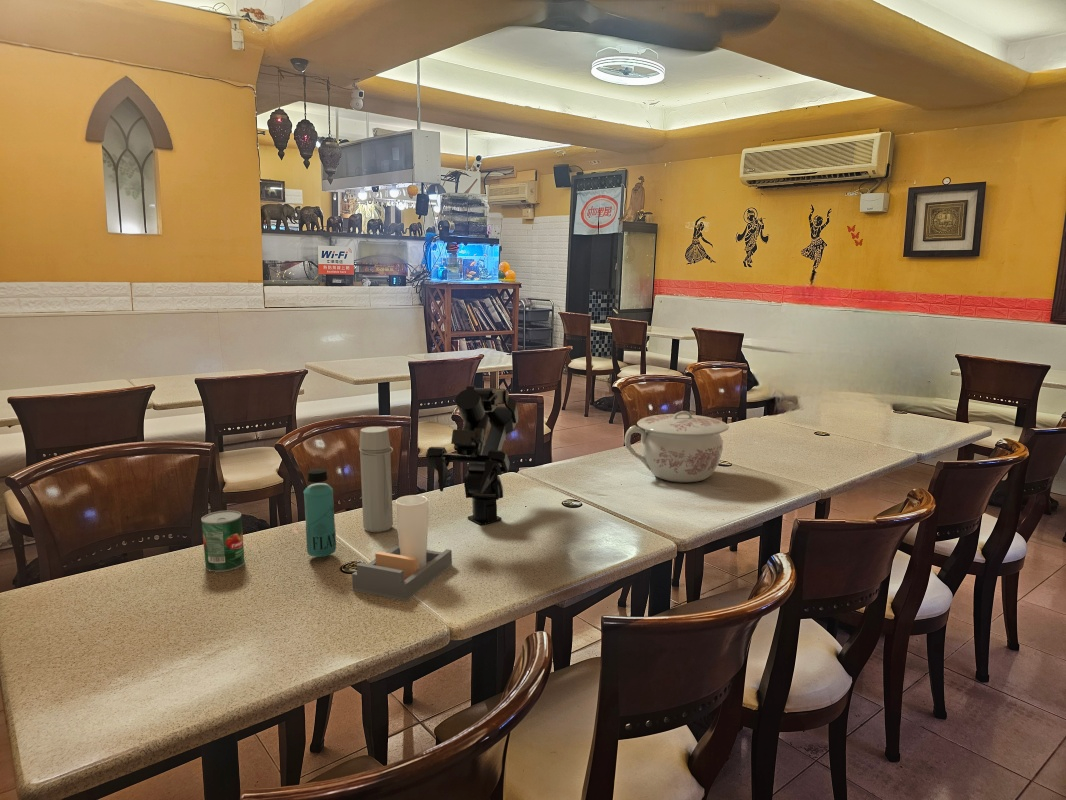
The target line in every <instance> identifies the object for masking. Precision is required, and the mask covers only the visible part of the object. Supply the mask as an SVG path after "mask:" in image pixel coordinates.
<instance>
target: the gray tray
mask: <svg viewBox="0 0 1066 800" xmlns="http://www.w3.org/2000/svg"><path fill="white" fill-rule="evenodd" d="M452 552H453V551H452V549H447V548H446V549H445V550H444V551H435V550H431V549H427V554H426V565H425V566H423V567H422V568H420V569H419V570H418V571H416V572H415V573H414V574H412V575H411V576H410V577H408V578H407V579H406V580H404V571H403V570H398V569H392V568H387V567H381V566H376V559H372V561H370V562H368V563H364V562H359V563H357V564H356V571H354V572H353V573H351V580H352V581H351V582H352V592H353V591H354V592H358V593H364V594H369V595H373V596H377V597H384V598H388V599H394V600H397V601H403V602H408V601H409V600H410V599H411V598H413V597H414V596H415V595H416V594H417V593H419V592H420V591H422V589H424V588H425V587H426V586H428V585H429V584H430V583H432V582H433V581H434V580H435V579H437V578H438V577H439V576H440V575H442V574H443V573H444V572H445V571H447V570H448V569H449V568H450V567H451V566H453V555H452ZM385 553H391V554H396V555H400V548H399V543H398V544H396V545H395V546H393V547H392V548H390V549H389V550H387V551H385Z"/></svg>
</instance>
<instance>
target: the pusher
mask: <svg viewBox="0 0 1066 800" xmlns="http://www.w3.org/2000/svg"><path fill="white" fill-rule="evenodd" d="M385 552H386V551H385ZM385 552H384V551H377V552H375V555H374V556H375V557H374V558H375V559H376V566H381V567H387V568H392V569H398V570H403V571H404V580H406V579H407V578H408V577H410V576H411V575H412V574H414V573H415V572H416V571H418V561H417V558H414V557H408V556H402V555H396V554H391V553H385Z"/></svg>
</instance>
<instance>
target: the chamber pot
mask: <svg viewBox="0 0 1066 800" xmlns="http://www.w3.org/2000/svg"><path fill="white" fill-rule="evenodd" d="M636 424H637V425H636ZM636 424H635V425H632V426H630V427H629V428H628V429H627V430H626V432H625V435H624V445H625V448H626V449H627V450H628V452H629V453H630V454H631V455H632V456H634V457H635V458H636V459H638V460H639V461H640V462H641V463H642V464H644V466H645V467H646V468H647V469H648V470H649V471H650V473H651V474H653V475H654V476H655V477H656V478H659V479H661V480H663V481H667V482H671V483H678V484H680V483H681V484H691V483H696V482H700V481H704V480H706V479H708V478H709V477H710V476H712V474H713V472H714V471H715V470H716V469H717V467H718V466H719V464H720V462H721V458H722V454H723V450H724V440H723V439H722V436H721V434H722V433H724V432H727V431H728V430H729V428H730V426H729V425H728V423H726V422H725V421H722V420H719V419H717V418H714V417H710V416H705V415H704V416H703V415H696V414H692V413H691V412H690V411H687V410H681V411H677V412H676V413H666V414H665V413H664V414H657V415H656V414H655V415H650V416H646V417H643V418H640V419H639V420H638V421H637V422H636ZM634 433H636V434H638V433H639V434H640V435H641V437H640V447H641V452H642V453H641V454H639V453H638V452H636V450H635V449H634V448H633V447H632V445H631V438H632V434H634Z"/></svg>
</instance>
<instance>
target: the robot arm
mask: <svg viewBox="0 0 1066 800" xmlns="http://www.w3.org/2000/svg"><path fill="white" fill-rule="evenodd" d="M454 401H455V405H456V407H457V410H458V413H459V415H460V417H461V419H462V420H463V422H464V423H463V426H462V429H457V428H456V429H453V430H452V434H451V435H452V436H451V445H453V449H454V451H456V453H450V452H449V453H448V451H447V449H446V447H445V446H430V447H428V448H427V450H426V453H425V458H426V459H427V462H428V464H430V467H432V468H433V469H434V470H435V471H437V478H438V485H439V491H440V492H441V493H442V492H443V491H444V488H445V485H446V482H447V477H448V474H449V469H448V467H449V464H450V463H461V464H463V463H464V464H470V465H469V468H468V470H467V473H466V474H465V476H464V480H463V485H464V494H465V498H466V499H469V498H470V499H471V500H472V501H471V502H472V515H468V516H467V519H468V520H470V521H472V522H474V523H476V524H478V525H480V526H484V525H487V524H491V523H494V522H500V521H502V517H501V516H499V515H498V504H497V501H498V500H500V499H503V498H504V486H503V483H502V480H501V478H500V476H501V475H503V473H508V472H509V469H510V460H509V456H508V454H507V452H506V451H505V450H502V449H503V446H504V442H505V439H506V437H507V435H508V434H510V433H511V432H513V431H514V429H515V427H516V425H517V424H518V422H519V417H520V416H519V409H518V405H517V402H516V401H515V400H514V399H513V398H512V397H511V396H510V393H509V390H508V389H506V388H488V387H486V388H483V387H476V386H475V385H467V386H466V388H465V389H464V390H462V391H460V392H459V393H458V394H457V395H456V396H455V400H454ZM502 404H503V405H504V406H503V405H502ZM488 430H489V431H488ZM487 431H488V433H487Z"/></svg>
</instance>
